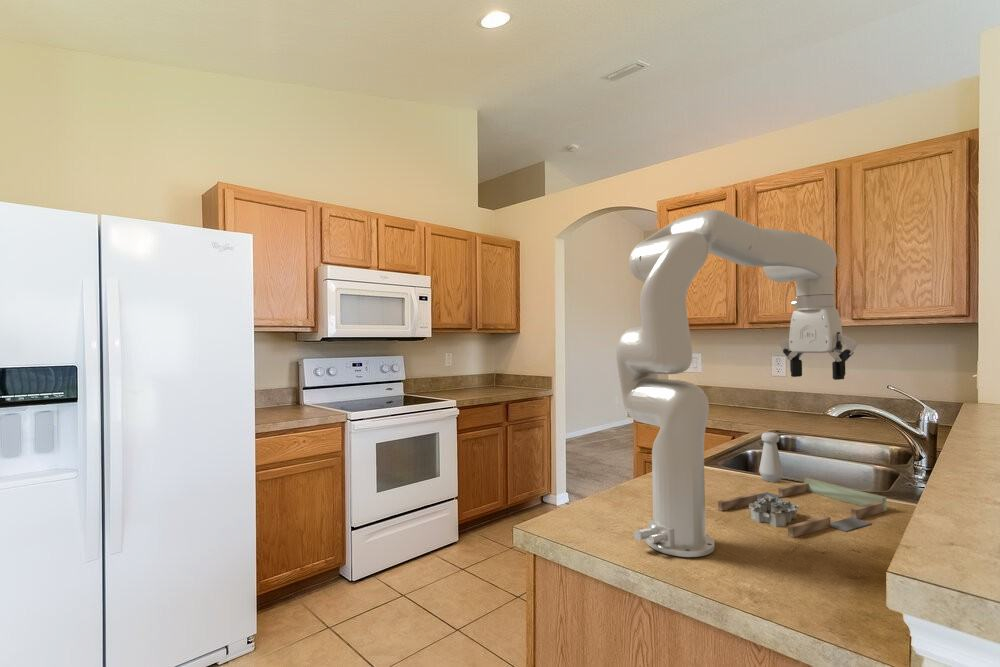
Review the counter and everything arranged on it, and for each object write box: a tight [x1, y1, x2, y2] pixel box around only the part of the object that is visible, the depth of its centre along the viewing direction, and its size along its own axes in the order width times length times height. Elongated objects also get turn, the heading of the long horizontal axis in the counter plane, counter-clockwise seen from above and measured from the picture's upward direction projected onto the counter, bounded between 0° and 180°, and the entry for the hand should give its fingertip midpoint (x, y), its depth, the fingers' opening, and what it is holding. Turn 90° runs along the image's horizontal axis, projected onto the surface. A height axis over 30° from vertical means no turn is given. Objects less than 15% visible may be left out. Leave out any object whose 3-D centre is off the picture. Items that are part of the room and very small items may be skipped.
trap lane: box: [717, 477, 888, 539], centre depth 114 cm, size 32×24×3 cm
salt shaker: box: [758, 431, 784, 483], centre depth 138 cm, size 6×6×13 cm
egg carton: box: [748, 495, 799, 528], centre depth 110 cm, size 11×8×4 cm
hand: (816, 377), depth 115 cm, fingers open, 9 cm apart
